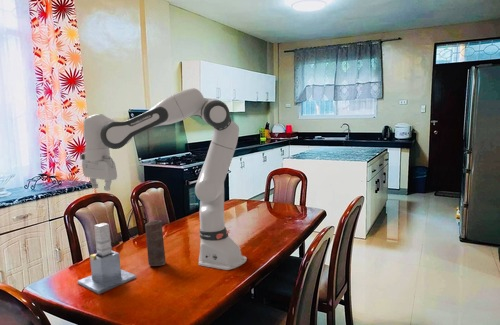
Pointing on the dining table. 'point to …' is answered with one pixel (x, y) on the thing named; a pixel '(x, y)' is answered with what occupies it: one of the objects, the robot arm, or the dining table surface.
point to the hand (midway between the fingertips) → (101, 189)
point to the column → (103, 240)
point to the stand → (105, 273)
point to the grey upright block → (155, 243)
